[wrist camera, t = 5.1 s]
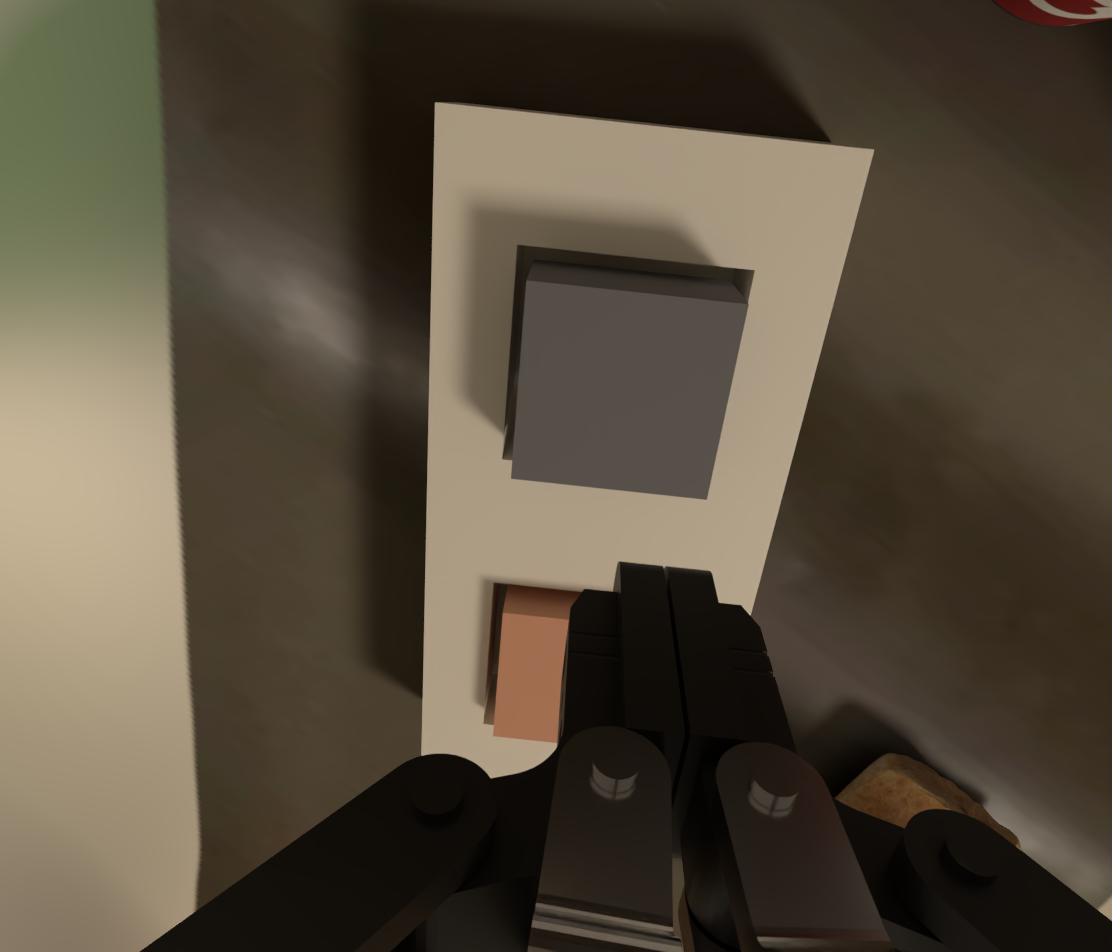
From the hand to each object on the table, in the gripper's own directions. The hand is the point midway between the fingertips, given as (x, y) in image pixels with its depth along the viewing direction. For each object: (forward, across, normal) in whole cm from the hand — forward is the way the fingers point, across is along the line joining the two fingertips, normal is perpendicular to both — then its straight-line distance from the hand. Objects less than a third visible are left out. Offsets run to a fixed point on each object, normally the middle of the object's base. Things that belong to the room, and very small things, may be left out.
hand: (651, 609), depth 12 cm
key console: (+16, 0, +6) cm, 17 cm away
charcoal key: (+13, 0, 0) cm, 13 cm away
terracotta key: (+14, 0, +12) cm, 19 cm away
